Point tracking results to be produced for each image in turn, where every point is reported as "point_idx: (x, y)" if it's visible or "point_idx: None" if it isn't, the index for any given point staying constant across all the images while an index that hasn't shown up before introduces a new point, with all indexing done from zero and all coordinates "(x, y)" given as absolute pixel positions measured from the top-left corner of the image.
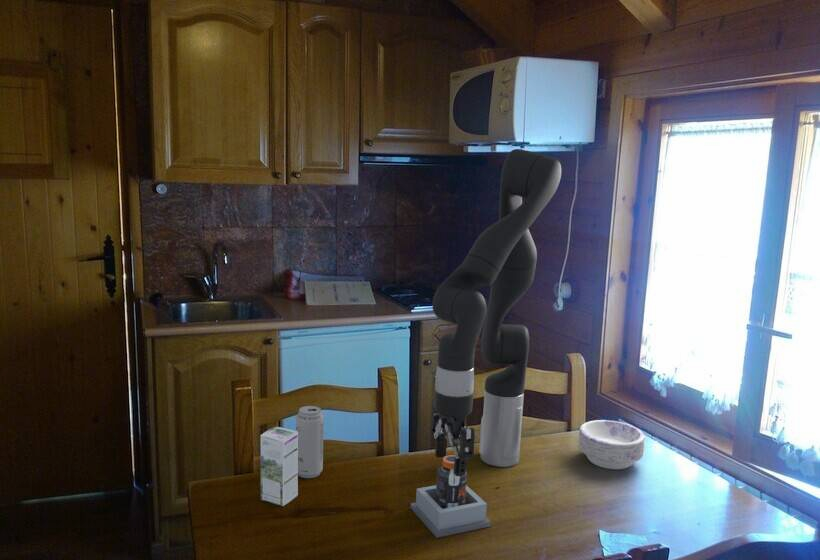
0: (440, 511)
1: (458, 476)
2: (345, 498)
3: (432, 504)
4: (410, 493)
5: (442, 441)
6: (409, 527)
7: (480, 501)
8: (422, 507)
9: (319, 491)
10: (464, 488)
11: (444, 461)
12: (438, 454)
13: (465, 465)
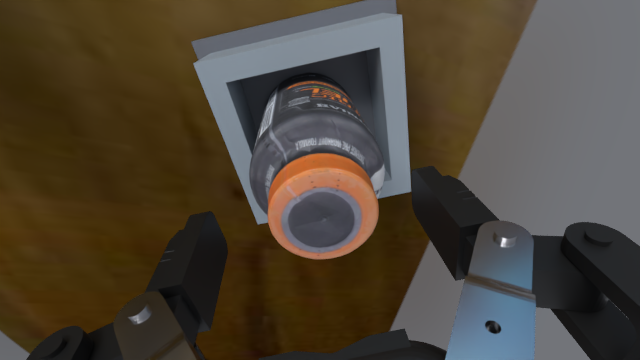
0: (403, 188)
1: (382, 171)
2: None
3: None
4: (175, 186)
5: (197, 297)
6: None
7: (376, 36)
8: None
9: None
10: (356, 112)
11: (337, 255)
12: (222, 251)
13: (480, 204)
